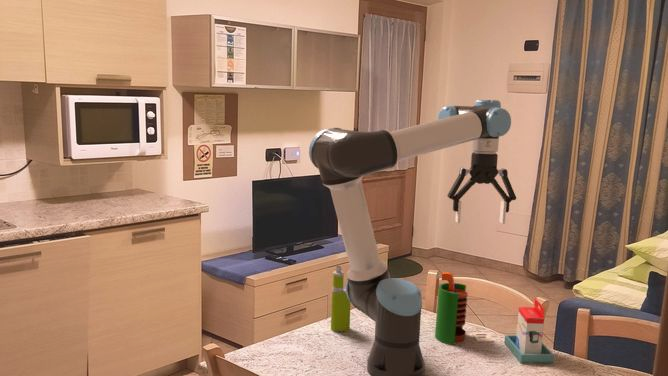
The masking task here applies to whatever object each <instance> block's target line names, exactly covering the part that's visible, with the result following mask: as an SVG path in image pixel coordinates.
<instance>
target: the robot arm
mask: <svg viewBox="0 0 668 376" xmlns="http://www.w3.org/2000/svg"><path fill="white" fill-rule="evenodd" d="M511 125H512V116H511V114H510V113H509V111H508V110H506V109H505V108H504V107H503V108H502V104H501V101H500V100H497V99H476V100H475V102H474V105H473V106H471V105H469V106H467V105H454V104H453V105H446V106H442V107H441V109H440V110H439V112H438V115H437V119H436V120H432V121H428V122H424V123H420V124H417V125H413V126H409V127H405V128H401V129H397V130H393V131H389V130H388V129H386V128H385V129H381V130H375V131H357V130H348V129H343V128H340V127H330V128H329V127H328V128H325V129H322V130H320V131H318V132H317V133H316V134H315V135H314V137H313V138H312V139H311V141H310V144H309V150H308V156H309V159H310V161H311V164H313V166H314V167H315V168H316V169H317V170H318V172H319V175H320V179H321V182H322V185H323V186H324V187H326V188H328V189H329V191H330V194H331V198H332V202H333V206H334V207H333V208H334V209H335V210H334V211H335V213H336V214H335V215H336V218H337V222H338V226H339V230H340V233H341V236H342V241H343V245H344V248H345V252H346V253H345V254H346V255H347V259H348V263H349V268H348V270H347V271H346V277H347V281H346V283H345V287H344V288H345V289H346V295H347V298H348V299H349V301H350V302H351V304H350V305H351V306H353V307H354V308H355V309H356V310H358V311H360V312H362V313H363V314H364V315H365V316H367V317H368V318H370V319H371V320H372V321H374V323H375V325H374V327H375V328H374V341H373V344H372V346H371V349H370V352H369V355H368V357H367V359H366V360H367V362H366V370H367V372H368V374H369V375H371V376H424V375H425V370H426V369H425V367H426V364H425V361H424V360H425V359H424V356H423V354H422V353H423V352H422V349H421V347H420V334H421V316H422V307H423V300H422V299H423V298H422V292H421V289H420V288H419V286H418V285H416V284H415V283H414V282H412V281H410V280H404V279H403V278H396V277H391V275H390V271H389V267H388V264H387V263H386V262H385V261H383V260H382V259H381V257H380V253H379V250H378V245H377V241H376V238H375V232H374V230H373V229H374V228H373V225H372V220H371V216H370V213H369V212H370V211H369V208H368V204H367V200H366V195H365V192H364V188H363V187H364V186H363V184H362V180H363V178H364V177H365V176H368V175H371V174H375V173H378V172H382V171H385V170H388V169H391V168H395V167H396V166H397V164H398V163H399V162H401V161H404V160H408V159H412V158H415V157H418V156H422V155H426V154H429V153H433V152H436V151H440V150H443V149H447V148H450V147H453V146H458V145H461V144H465V143H467V142H471V141H472V143H471V150H472V151H473V152H472V153H471V158H470V159H471V160H470V167H469V168H464V167H460V168H459V174H458V175H457V178H456V179H455V181H454V182H453V184H452V186H451V188H450V190H449V191H448V193H447V198H448V199H450V200H452V201H453V202H452V210H453V212H455V222H456V223H458V224H461V218H462V217H461V214H462V201H461V199H462V197H464V196H465V194H466V193H467V192H468V191H469V190H470V189H471V188H472V187H473V186H474V185H475V184H476V183H477V184H478V185H480V184H481V185H482V184H485V185H490V184H491V185H492V186H493V188H494V189H495V190H496V192H498V194H499V195H500V197H501V198H502V200H501V201H500V210H499V223H501V224H502V225H505V224H506V214H507V213H509V211H510V203H511V202H512V201H515V200H517V196H516V193H515V191H514V188H513V186H512V183H511V182H510V179H509V176H508V174H509V173H508V169H506V168H501V169H498V157H499V156H498V153H497V152H498V151H499V141H500V140H499V139H500V137H504V136H505V135H507V133H508V132H509V131H510V129H511ZM468 174H469V175H470V177H469V179H467V181H466V183H464V185H463V186H461V185H462V183H463V181H464V179H465V177H466V176H467V175H468ZM498 175H499V177H501V180H502V182H503V185H504V187H505V189H506V192H507V193H506V192H505V190H504V189H503V188H502V186H501V185H500V184H499V183H498V181H497V179H496V177H497V176H498ZM460 186H461V188H460ZM459 188H460V189H459Z"/></svg>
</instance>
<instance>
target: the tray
mask: <svg viewBox="0 0 668 376" xmlns="http://www.w3.org/2000/svg"><path fill="white" fill-rule="evenodd" d="M504 345H505V346H506V347H507V349H509V351H510V352H511V353H512V354H513V356H514V357H515V358H516V360H517V361H518V362H519V363H520V364H544V365H545V364H546V365H547V364H548V365H549V364H552V365H553V363H555V354H554V353H553V351H551V350H550V349H549V348H548V346H546V345H545V343H544V342H542V348H541V354H523V353H522V352H521V351H520V350H519V349H518V347H517V346H516V334H511V335H510V334H504Z"/></svg>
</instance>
